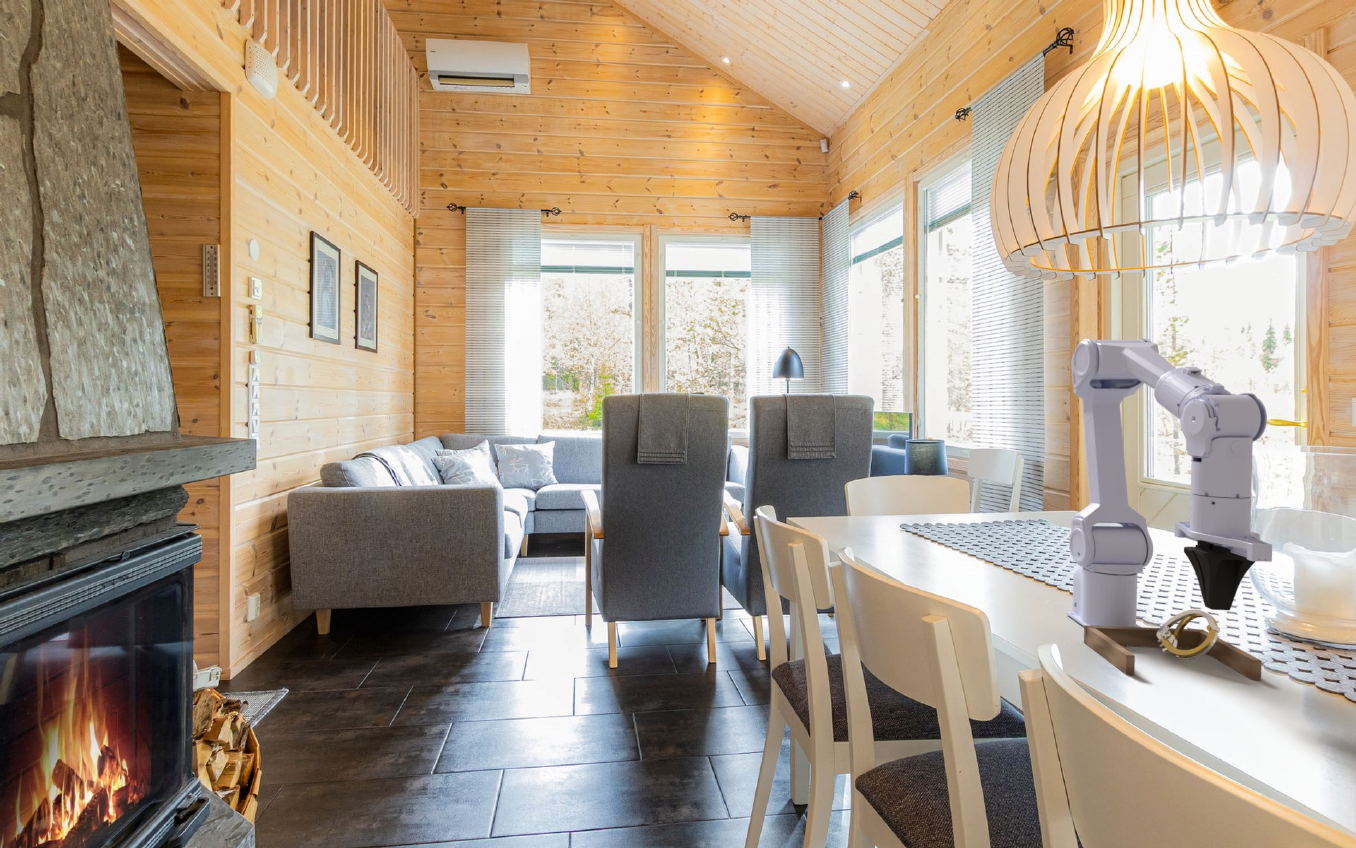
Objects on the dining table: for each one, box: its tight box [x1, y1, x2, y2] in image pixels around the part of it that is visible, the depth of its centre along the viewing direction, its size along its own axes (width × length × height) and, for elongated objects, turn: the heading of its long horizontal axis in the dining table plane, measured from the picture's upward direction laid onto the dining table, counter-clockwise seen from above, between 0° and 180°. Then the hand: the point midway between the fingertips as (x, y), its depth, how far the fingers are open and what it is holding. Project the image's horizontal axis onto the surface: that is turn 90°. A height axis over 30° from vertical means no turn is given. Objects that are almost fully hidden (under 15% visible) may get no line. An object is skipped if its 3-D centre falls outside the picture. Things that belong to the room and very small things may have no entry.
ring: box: [1156, 609, 1221, 661], centre depth 94 cm, size 7×3×8 cm
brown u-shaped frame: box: [1083, 625, 1262, 681], centre depth 94 cm, size 12×16×2 cm
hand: (1217, 608), depth 84 cm, fingers closed
